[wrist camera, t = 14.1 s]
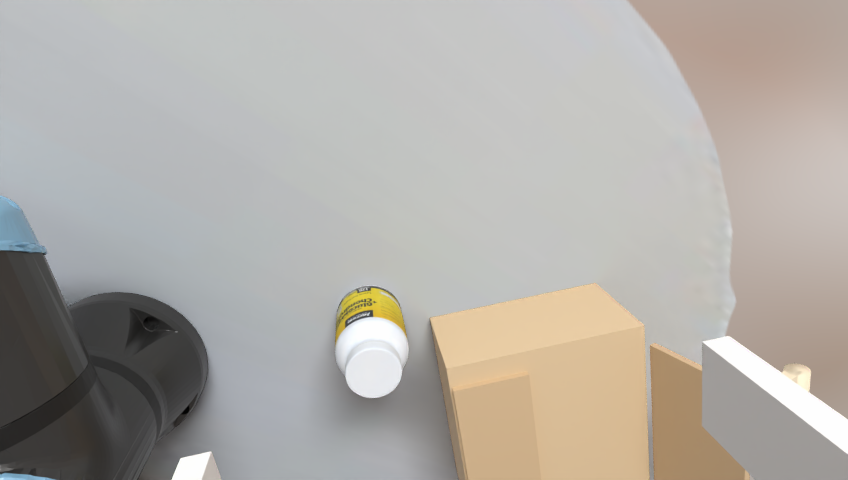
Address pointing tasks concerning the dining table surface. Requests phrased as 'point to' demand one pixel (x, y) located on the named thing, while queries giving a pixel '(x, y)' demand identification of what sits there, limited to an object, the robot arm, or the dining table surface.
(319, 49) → the dining table surface
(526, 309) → the carton
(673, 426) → the flap
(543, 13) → the dining table surface
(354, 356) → the pill bottle
